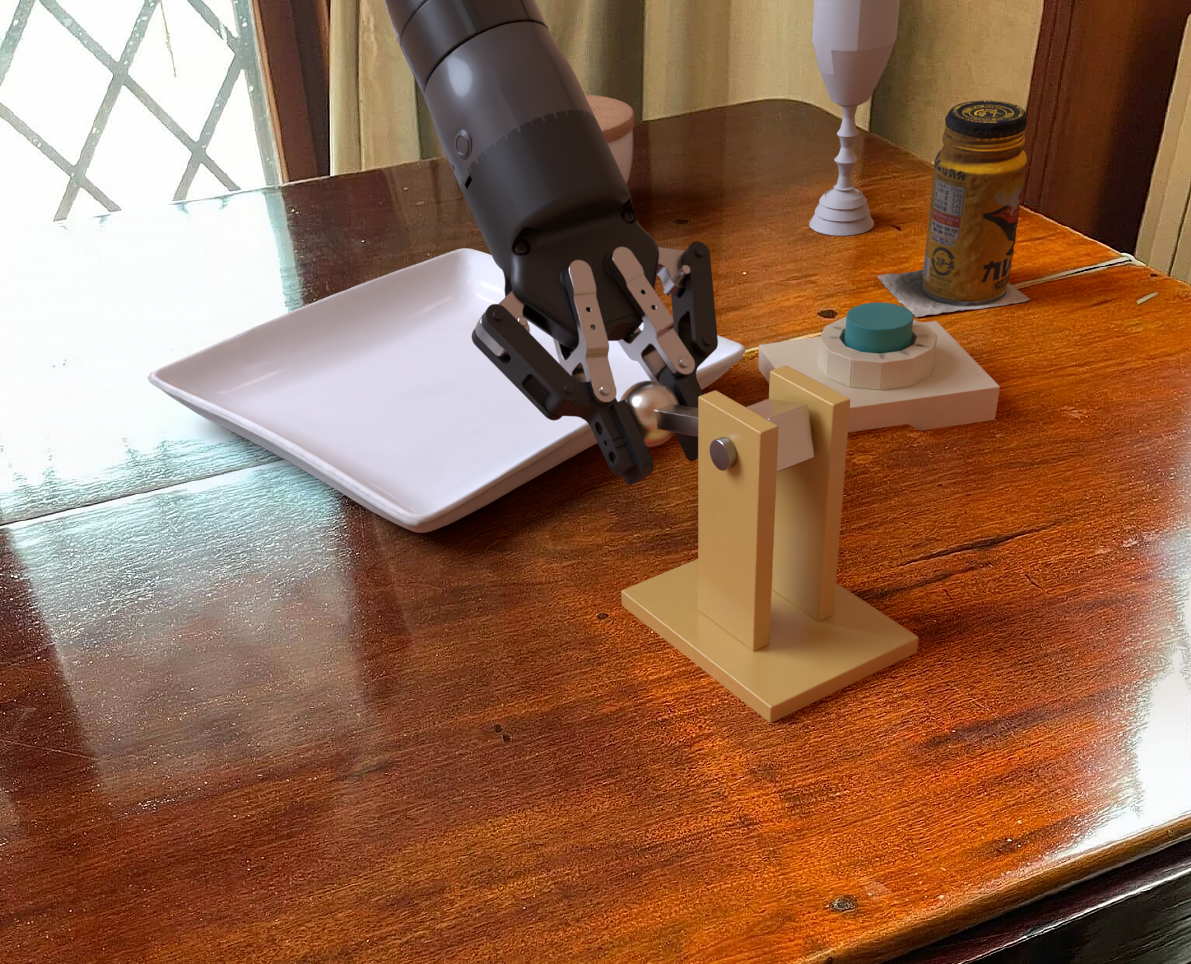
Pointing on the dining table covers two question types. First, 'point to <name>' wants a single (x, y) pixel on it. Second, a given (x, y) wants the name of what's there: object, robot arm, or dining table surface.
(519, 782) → the dining table surface
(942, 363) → the cream button base
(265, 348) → the square plate
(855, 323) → the button
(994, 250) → the condiment
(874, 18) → the chalice
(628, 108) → the lidded sugar bowl
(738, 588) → the lever stand
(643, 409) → the tap lever
